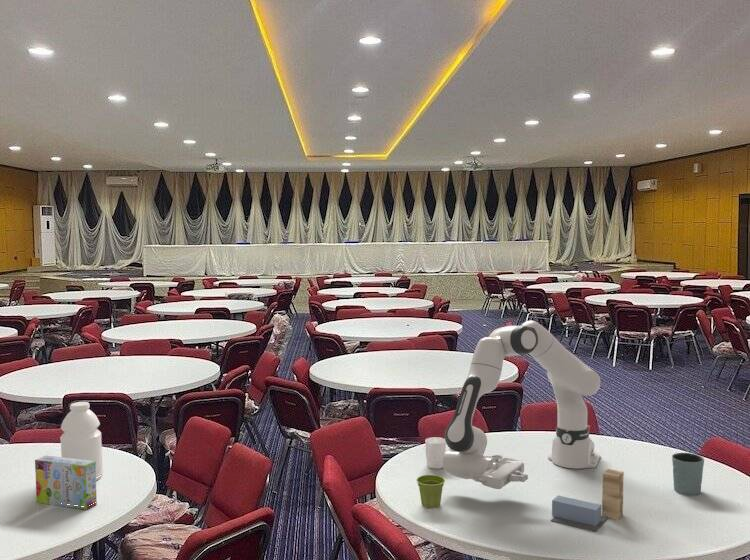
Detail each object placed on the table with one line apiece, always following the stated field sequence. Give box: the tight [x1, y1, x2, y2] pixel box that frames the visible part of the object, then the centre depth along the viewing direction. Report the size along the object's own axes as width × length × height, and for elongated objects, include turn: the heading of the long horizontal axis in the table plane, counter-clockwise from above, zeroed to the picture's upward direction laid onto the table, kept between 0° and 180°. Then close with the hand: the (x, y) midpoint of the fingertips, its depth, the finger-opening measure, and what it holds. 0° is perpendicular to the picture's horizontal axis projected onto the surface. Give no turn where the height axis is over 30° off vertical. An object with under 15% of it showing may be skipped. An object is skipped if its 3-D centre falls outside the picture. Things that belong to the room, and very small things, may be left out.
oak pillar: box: [601, 468, 625, 521], centre depth 228 cm, size 5×5×14 cm
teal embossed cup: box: [671, 452, 705, 496], centre depth 248 cm, size 10×10×12 cm
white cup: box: [424, 436, 447, 470], centre depth 275 cm, size 8×8×10 cm
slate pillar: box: [551, 495, 602, 526], centre depth 226 cm, size 5×5×14 cm
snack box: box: [34, 454, 98, 510], centre depth 241 cm, size 21×6×15 cm, turn 71°
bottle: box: [59, 401, 104, 481], centre depth 264 cm, size 14×14×28 cm
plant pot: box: [416, 474, 446, 509], centre depth 237 cm, size 9×9×9 cm
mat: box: [550, 515, 609, 533], centre depth 225 cm, size 12×14×1 cm
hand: (526, 478), depth 235 cm, fingers closed
